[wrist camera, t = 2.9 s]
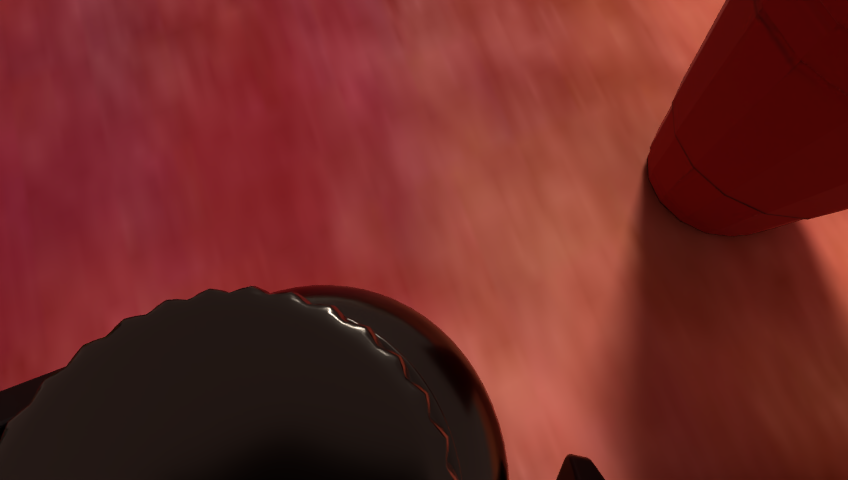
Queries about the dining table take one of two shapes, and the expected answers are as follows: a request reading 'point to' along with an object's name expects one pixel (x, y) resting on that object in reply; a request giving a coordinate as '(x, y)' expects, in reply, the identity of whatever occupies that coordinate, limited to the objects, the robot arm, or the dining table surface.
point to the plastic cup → (759, 120)
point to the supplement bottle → (262, 396)
